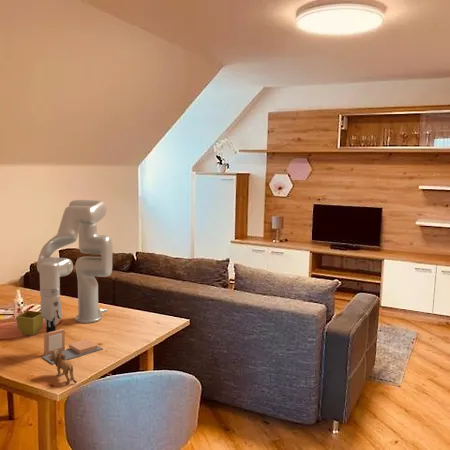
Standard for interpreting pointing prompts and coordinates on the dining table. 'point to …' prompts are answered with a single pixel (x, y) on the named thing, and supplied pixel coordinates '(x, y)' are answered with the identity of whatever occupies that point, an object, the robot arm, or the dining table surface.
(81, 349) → the tile
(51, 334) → the tile
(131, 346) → the dining table surface
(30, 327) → the flower pot
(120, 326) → the dining table surface
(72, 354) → the felt mat
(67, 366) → the lion figurine
